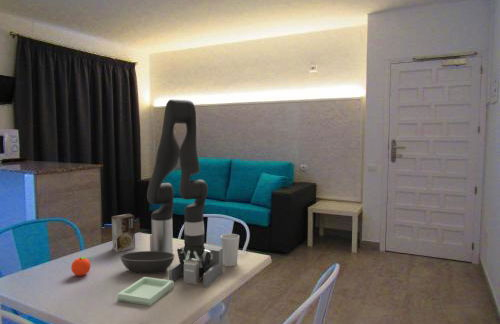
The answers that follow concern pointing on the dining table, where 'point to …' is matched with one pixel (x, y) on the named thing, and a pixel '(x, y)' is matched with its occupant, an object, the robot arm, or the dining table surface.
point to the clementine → (81, 266)
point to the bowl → (147, 261)
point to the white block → (192, 271)
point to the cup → (230, 249)
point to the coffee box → (123, 232)
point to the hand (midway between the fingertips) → (194, 275)
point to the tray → (146, 291)
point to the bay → (210, 270)
